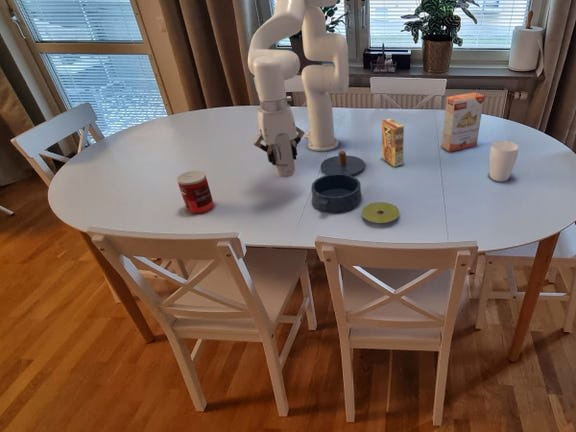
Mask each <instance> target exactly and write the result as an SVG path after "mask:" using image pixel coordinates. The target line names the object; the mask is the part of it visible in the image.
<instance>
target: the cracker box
mask: <svg viewBox="0 0 576 432" xmlns="http://www.w3.org/2000/svg"><path fill="white" fill-rule="evenodd" d="M484 101H485V95H483V94H481V93H479V92H477V91H474V92H469V93H462V94H456V95H451V96H450V95H449V96H446V101H445V110H444V121H443V130H442V139H441V148H443V149H444V150H445V151H447V152H448V153H450V152H455V151H459V150H464V149H468V148H473V147H477V144H478V140H479V132H480V125H481V119H482V113H483V108H484Z"/></svg>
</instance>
